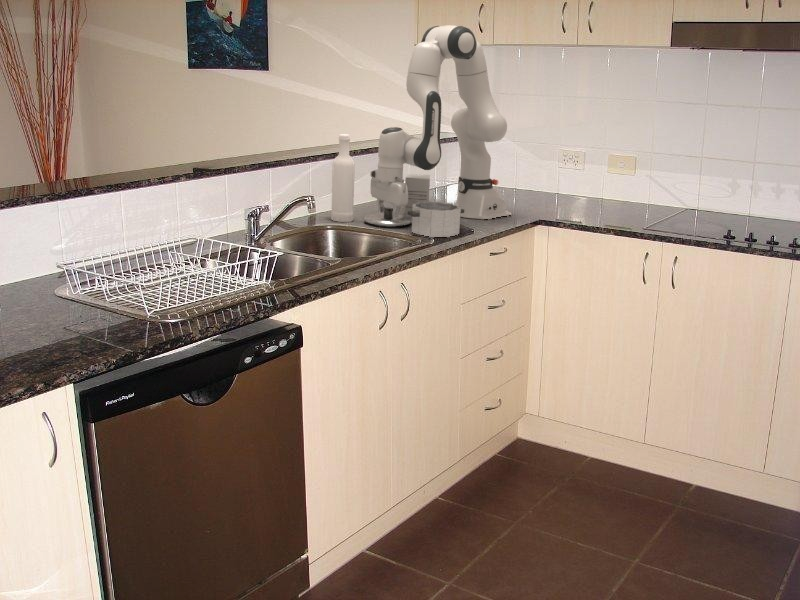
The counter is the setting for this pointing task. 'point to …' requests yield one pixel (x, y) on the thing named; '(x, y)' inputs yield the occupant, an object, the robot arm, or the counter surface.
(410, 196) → the supplement box
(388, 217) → the lid
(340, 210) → the bottle
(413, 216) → the pot
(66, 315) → the counter surface
